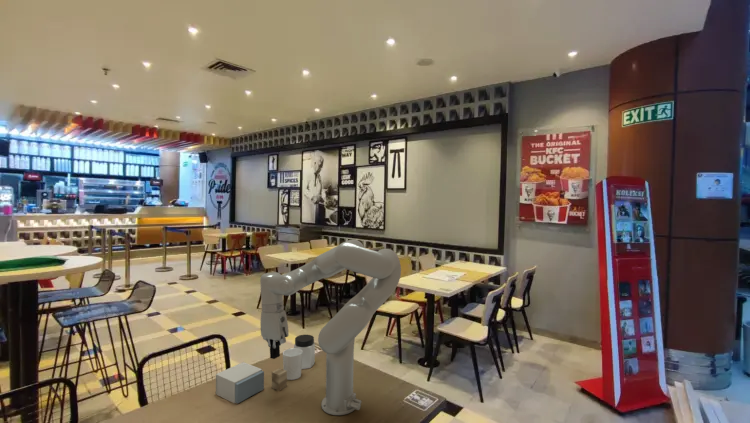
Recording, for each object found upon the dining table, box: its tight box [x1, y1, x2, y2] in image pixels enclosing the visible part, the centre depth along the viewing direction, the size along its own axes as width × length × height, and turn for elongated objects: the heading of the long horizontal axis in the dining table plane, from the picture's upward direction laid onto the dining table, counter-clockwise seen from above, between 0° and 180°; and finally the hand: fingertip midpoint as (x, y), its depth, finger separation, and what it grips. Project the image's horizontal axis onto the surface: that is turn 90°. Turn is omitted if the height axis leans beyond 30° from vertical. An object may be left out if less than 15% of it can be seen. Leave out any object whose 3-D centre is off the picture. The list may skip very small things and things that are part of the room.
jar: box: [293, 334, 316, 370], centre depth 155 cm, size 9×8×12 cm
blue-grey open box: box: [234, 370, 265, 405], centre depth 132 cm, size 11×12×7 cm
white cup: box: [282, 347, 303, 381], centre depth 145 cm, size 8×8×10 cm
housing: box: [215, 361, 263, 404], centre depth 132 cm, size 11×12×8 cm
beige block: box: [271, 367, 288, 391], centre depth 136 cm, size 4×4×6 cm
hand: (275, 357), depth 128 cm, fingers closed
